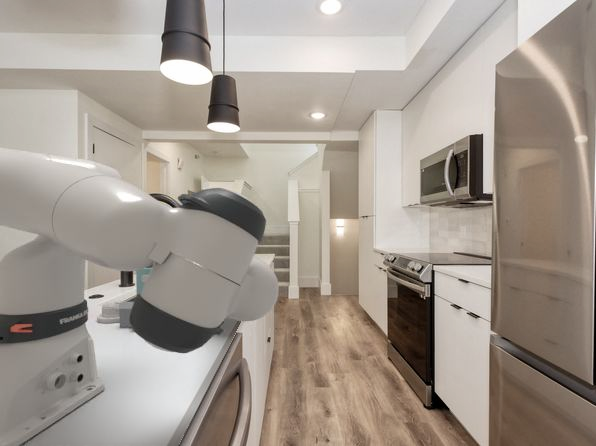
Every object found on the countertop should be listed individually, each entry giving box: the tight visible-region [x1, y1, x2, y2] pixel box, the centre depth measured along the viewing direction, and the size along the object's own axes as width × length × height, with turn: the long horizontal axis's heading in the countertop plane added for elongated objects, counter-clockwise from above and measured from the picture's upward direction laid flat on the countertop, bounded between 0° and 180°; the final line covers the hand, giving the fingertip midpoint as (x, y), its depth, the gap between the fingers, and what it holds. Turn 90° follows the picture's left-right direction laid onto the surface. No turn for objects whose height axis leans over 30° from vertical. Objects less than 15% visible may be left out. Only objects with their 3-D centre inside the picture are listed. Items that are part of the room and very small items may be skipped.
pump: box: [135, 262, 155, 295], centre depth 90 cm, size 5×5×12 cm
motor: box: [119, 294, 137, 329], centre depth 88 cm, size 14×11×6 cm
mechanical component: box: [96, 300, 124, 324], centre depth 93 cm, size 10×4×10 cm
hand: (150, 275), depth 90 cm, fingers open, 8 cm apart
